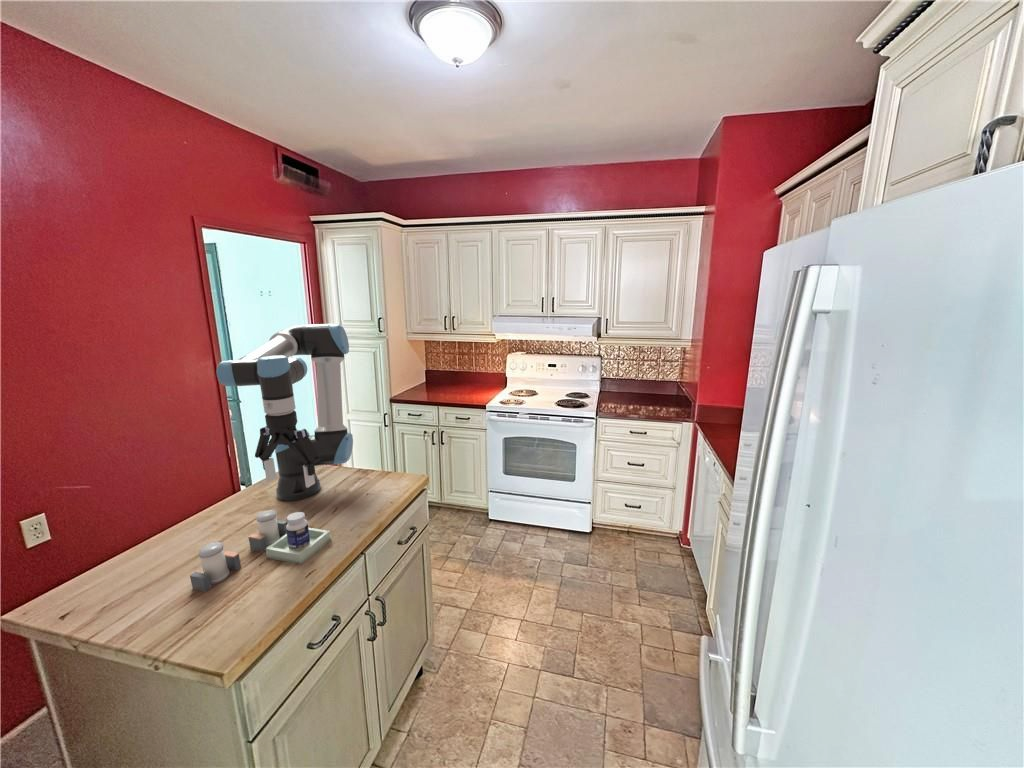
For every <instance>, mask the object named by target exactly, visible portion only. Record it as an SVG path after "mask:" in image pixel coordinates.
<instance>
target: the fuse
mask: <svg viewBox="0 0 1024 768" xmlns="http://www.w3.org/2000/svg"><path fill="white" fill-rule="evenodd" d="M277 515H278V514H277V511H276V510H274V509H269V510H267V509H266V510H264V511H262V512H260V513H258V514H257V515H256V516H255V518H256V521H257V522H256V523H257V528H258V535H263V536H265V541H266V547H269V546H270V545H271V544H273V543H274V542H276V541H277V540H278V539H280V538H281V536H280V534H279V530H278V524H277V520H278V519H277V518H278V517H277Z"/></svg>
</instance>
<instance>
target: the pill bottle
mask: <svg viewBox="0 0 1024 768" xmlns="http://www.w3.org/2000/svg"><path fill="white" fill-rule="evenodd" d="M305 514H306V513H304V512H303V511H302V512H301V511H295V512H293V513H290V514H288V516H287V517H286V521H287V523H288V524H287V526H286V531H287V539H288V547H289V549H290V550H291V551H300V550H303V549H305V548H306V547H307V546H308V545H309V544H310V537H309V529H308V528H309V522H308V520H307V519H306V515H305Z"/></svg>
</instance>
